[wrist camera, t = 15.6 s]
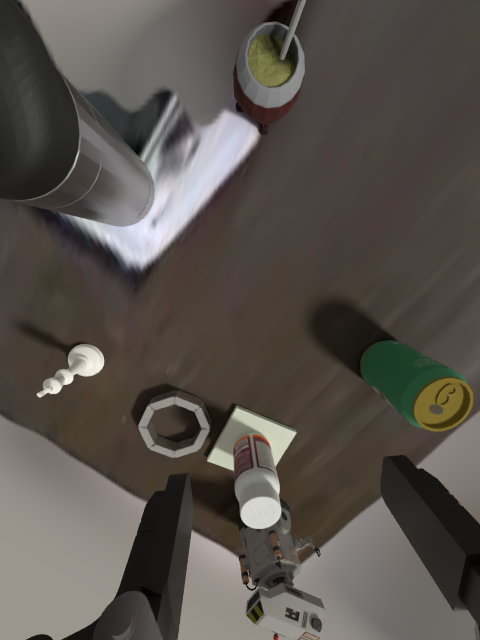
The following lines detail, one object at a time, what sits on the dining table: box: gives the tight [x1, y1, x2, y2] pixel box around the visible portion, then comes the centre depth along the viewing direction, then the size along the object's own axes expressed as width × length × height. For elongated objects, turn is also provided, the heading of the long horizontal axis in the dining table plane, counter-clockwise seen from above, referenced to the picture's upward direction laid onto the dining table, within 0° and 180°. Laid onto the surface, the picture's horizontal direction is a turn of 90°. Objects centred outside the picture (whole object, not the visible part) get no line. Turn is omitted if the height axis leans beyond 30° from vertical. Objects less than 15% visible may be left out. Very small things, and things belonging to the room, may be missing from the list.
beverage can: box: [360, 340, 473, 431], centre depth 35 cm, size 8×8×12 cm
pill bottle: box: [233, 433, 281, 529], centre depth 37 cm, size 6×6×11 cm
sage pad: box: [207, 405, 297, 471], centre depth 43 cm, size 11×11×1 cm
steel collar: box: [138, 390, 211, 458], centre depth 40 cm, size 10×10×2 cm
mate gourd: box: [233, 0, 306, 135], centre depth 24 cm, size 8×8×15 cm
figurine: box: [238, 500, 325, 640], centre depth 40 cm, size 9×12×15 cm
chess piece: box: [37, 344, 104, 398], centre depth 33 cm, size 5×5×10 cm
